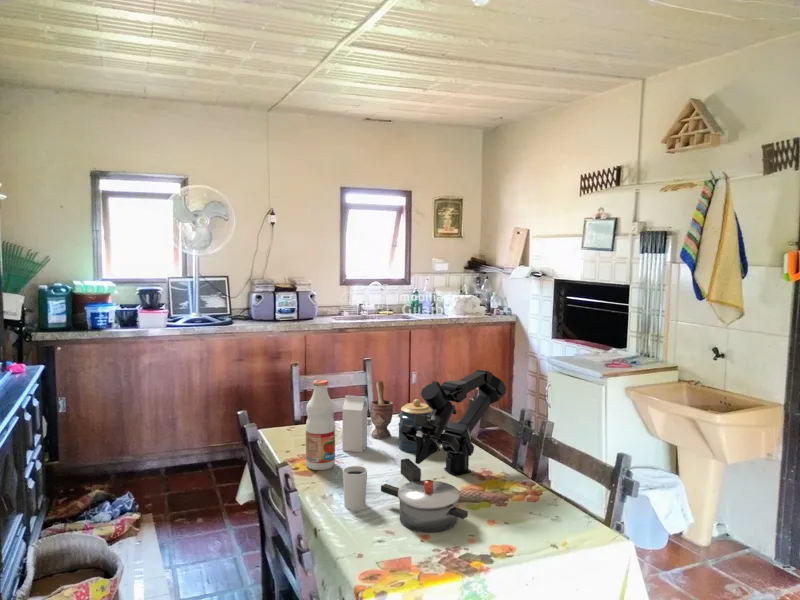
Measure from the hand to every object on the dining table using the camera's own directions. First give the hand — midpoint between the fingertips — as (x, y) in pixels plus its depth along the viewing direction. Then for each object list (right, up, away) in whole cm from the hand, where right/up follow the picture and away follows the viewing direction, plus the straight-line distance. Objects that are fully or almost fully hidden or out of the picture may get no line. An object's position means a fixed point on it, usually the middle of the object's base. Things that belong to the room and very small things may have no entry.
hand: (416, 463), depth 173 cm
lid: (+1, -4, -13) cm, 14 cm away
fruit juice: (-31, -7, +21) cm, 38 cm away
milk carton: (-21, -6, +38) cm, 44 cm away
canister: (+1, -6, +40) cm, 41 cm away
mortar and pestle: (-13, -4, +54) cm, 56 cm away
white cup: (-17, -9, -9) cm, 22 cm away
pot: (+1, -10, -16) cm, 19 cm away
